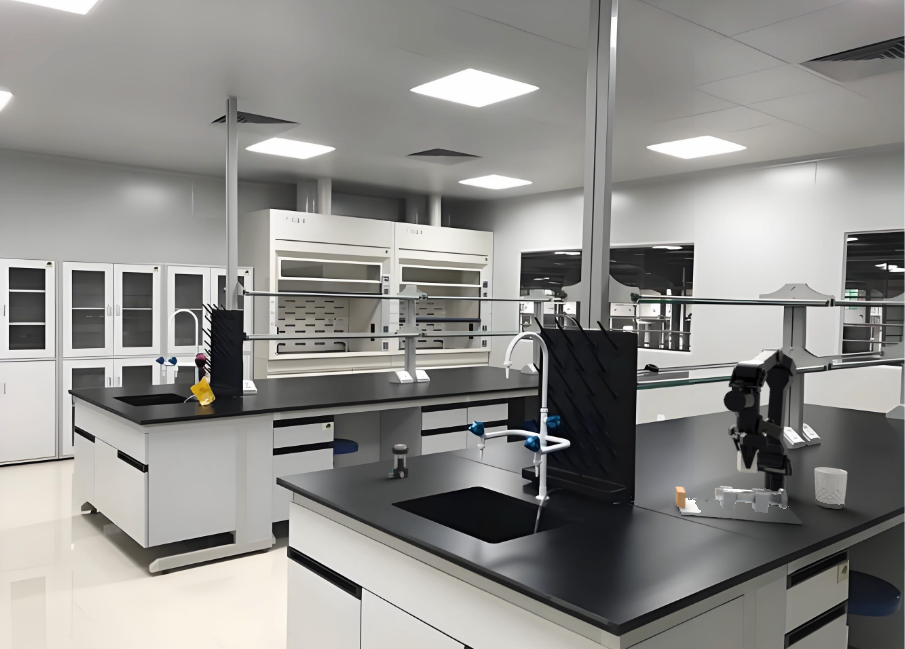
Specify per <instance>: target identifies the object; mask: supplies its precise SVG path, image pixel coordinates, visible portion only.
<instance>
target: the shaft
mask: <svg viewBox="0 0 905 649" xmlns="http://www.w3.org/2000/svg"><path fill="white" fill-rule="evenodd" d="M723 491H735V492H736V502H745V503H752V502H755V496H756V493H763V494H768V495H769V504H771V505H779V507H780V508H783V509H786V508H787V506H788V502H789V500H788V499H789V498H788V497H789V496H787V493H788V492H787V489H786V488H785V489H779V491H778V492H765V491H752V489H751V490H750V489H749V490H748V489H737V488H736V489H734V488H733V489H724V488H720V487H715V488H714V498H715V499H714V500H719V501H720V500H723Z"/></svg>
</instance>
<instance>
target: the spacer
mask: <svg viewBox="0 0 905 649" xmlns="http://www.w3.org/2000/svg"><path fill="white" fill-rule="evenodd" d="M736 459H737V460H736V462H737V463H736V469H737V471H739V472H740V473H747V474H748V473H749V474H757V471H758V470H757V453H756V454H755V457H754V460H753V463H752V466H751V469H746V467H745V464H744V461H743V458H742V455H741V452H740V451H738V453H737V458H736Z"/></svg>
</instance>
